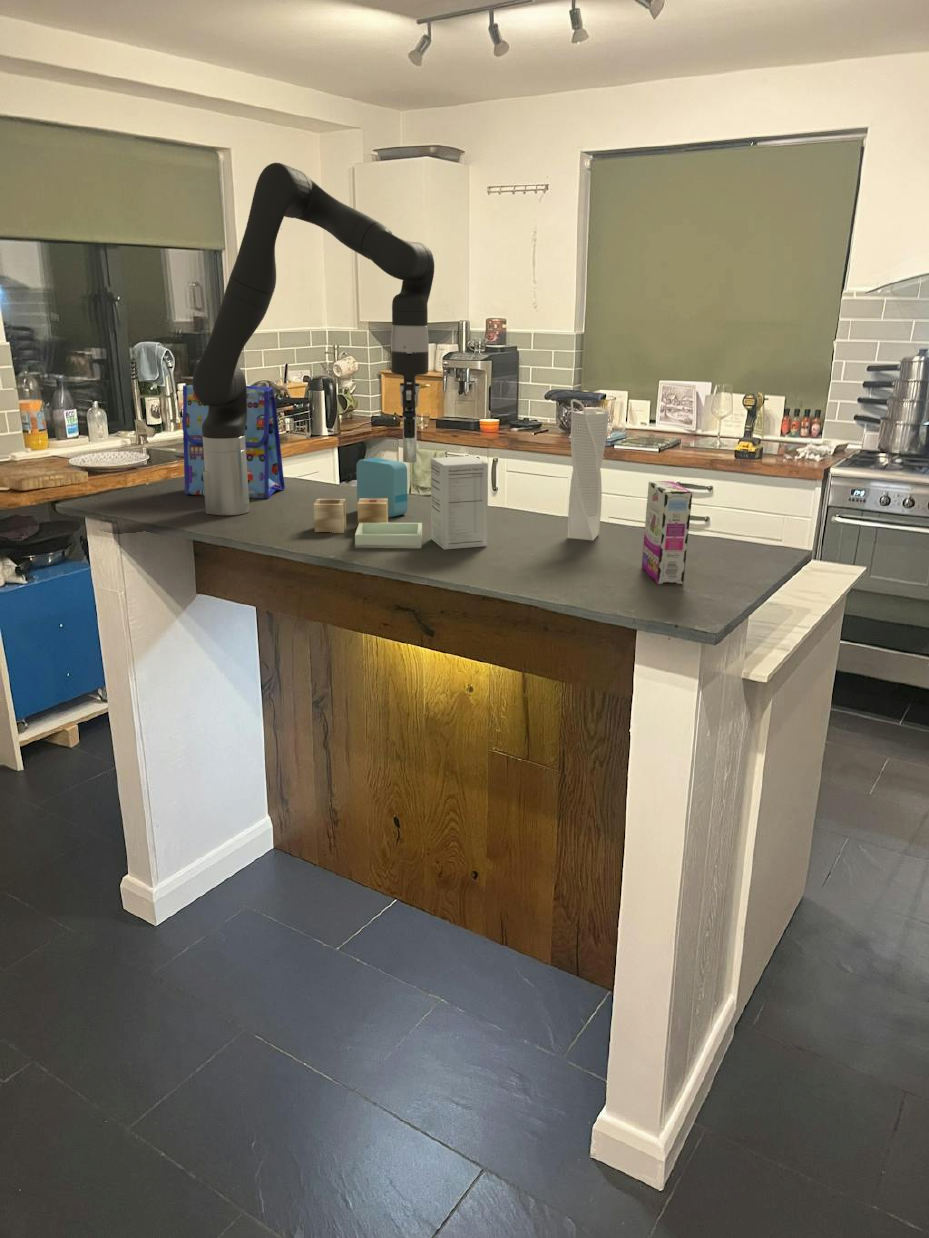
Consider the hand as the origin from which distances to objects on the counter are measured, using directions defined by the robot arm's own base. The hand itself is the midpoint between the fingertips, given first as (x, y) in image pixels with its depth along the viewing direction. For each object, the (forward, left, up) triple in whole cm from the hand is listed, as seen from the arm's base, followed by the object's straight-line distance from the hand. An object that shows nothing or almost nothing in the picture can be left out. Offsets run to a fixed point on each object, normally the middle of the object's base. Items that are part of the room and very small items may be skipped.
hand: (409, 436), depth 192 cm
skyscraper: (+36, -4, -20) cm, 41 cm away
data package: (-7, +18, -20) cm, 28 cm away
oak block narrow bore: (-8, +2, -20) cm, 22 cm away
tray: (-4, -9, -20) cm, 22 cm away
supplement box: (+10, -10, -20) cm, 25 cm away
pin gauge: (0, 0, -5) cm, 5 cm away
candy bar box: (+46, -34, -20) cm, 61 cm away
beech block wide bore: (-17, +1, -20) cm, 26 cm away
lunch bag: (-45, +41, -20) cm, 64 cm away
